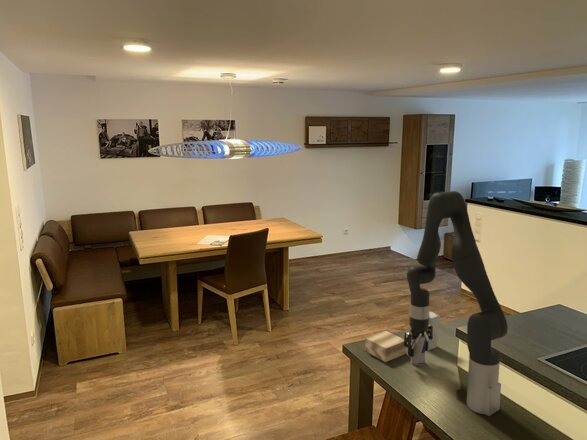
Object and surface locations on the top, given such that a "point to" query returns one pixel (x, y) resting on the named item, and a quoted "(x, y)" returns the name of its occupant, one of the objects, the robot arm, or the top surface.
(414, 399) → the top surface
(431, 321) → the skincare box
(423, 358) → the energy drink
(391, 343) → the birch block
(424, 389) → the top surface
